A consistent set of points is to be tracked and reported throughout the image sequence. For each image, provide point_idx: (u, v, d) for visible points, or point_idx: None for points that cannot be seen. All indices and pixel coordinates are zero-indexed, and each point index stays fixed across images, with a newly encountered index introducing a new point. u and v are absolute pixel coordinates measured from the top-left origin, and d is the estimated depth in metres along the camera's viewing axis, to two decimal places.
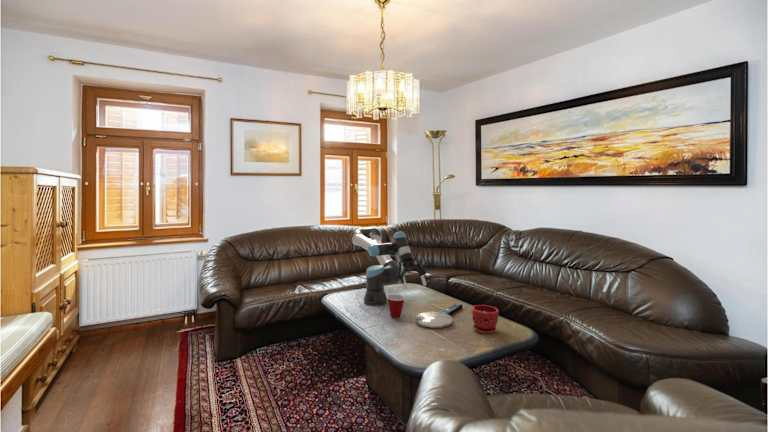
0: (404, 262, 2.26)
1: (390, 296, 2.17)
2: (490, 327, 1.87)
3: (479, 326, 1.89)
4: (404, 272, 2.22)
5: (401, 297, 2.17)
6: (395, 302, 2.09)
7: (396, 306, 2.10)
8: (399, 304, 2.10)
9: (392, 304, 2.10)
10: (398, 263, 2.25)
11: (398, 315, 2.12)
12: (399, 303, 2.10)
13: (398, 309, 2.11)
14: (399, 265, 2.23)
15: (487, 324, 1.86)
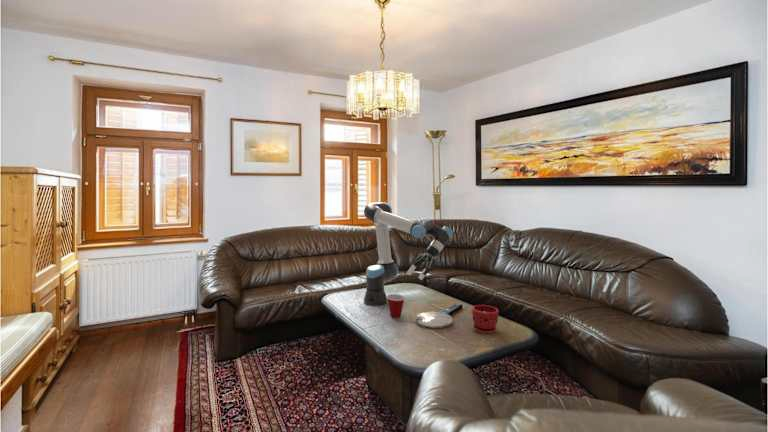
0: None
1: (390, 296, 2.17)
2: (490, 327, 1.87)
3: (479, 326, 1.89)
4: None
5: (401, 297, 2.17)
6: (395, 302, 2.09)
7: (396, 306, 2.10)
8: (399, 304, 2.10)
9: (392, 304, 2.10)
10: (436, 257, 2.16)
11: (398, 315, 2.12)
12: (399, 303, 2.10)
13: (398, 309, 2.11)
14: (435, 260, 2.16)
15: (487, 324, 1.86)
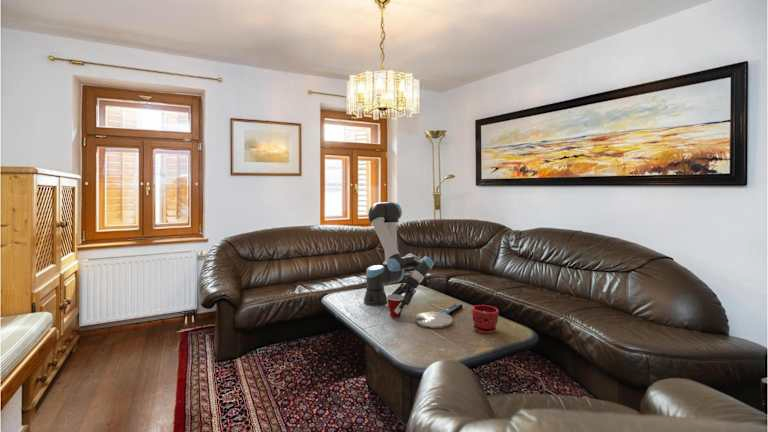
0: None
1: (390, 296, 2.17)
2: (490, 327, 1.87)
3: (479, 326, 1.89)
4: None
5: (401, 297, 2.17)
6: (395, 302, 2.09)
7: (396, 306, 2.10)
8: None
9: (392, 304, 2.10)
10: (414, 290, 2.11)
11: (398, 315, 2.12)
12: (399, 303, 2.10)
13: None
14: (413, 293, 2.11)
15: (487, 324, 1.86)
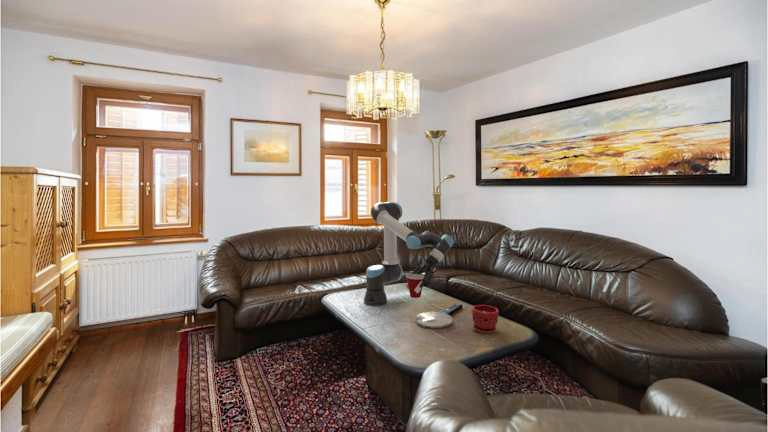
0: None
1: (409, 276, 2.10)
2: (490, 327, 1.87)
3: (479, 326, 1.89)
4: None
5: (420, 276, 2.09)
6: (415, 281, 2.02)
7: (416, 285, 2.02)
8: None
9: (412, 283, 2.02)
10: (435, 268, 2.03)
11: (418, 295, 2.04)
12: (419, 282, 2.02)
13: None
14: (434, 272, 2.03)
15: (487, 324, 1.86)
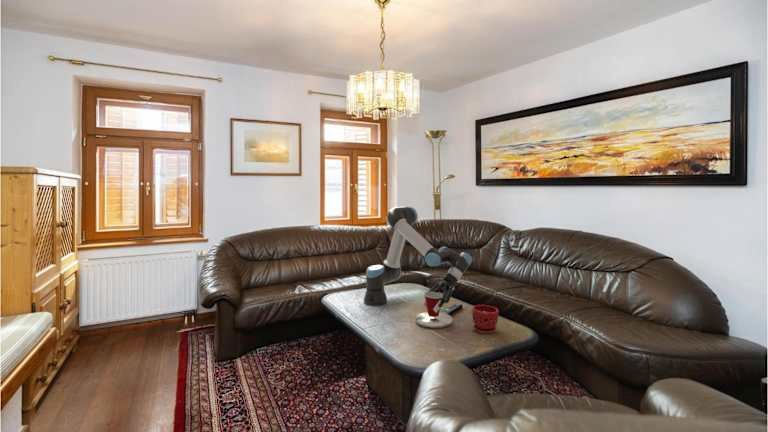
0: None
1: (427, 294, 2.07)
2: (490, 327, 1.87)
3: (479, 326, 1.89)
4: None
5: (438, 295, 2.07)
6: (434, 300, 1.99)
7: (435, 304, 2.00)
8: None
9: (431, 302, 2.00)
10: (454, 287, 2.01)
11: (436, 313, 2.02)
12: (438, 301, 2.00)
13: None
14: None
15: (487, 324, 1.86)
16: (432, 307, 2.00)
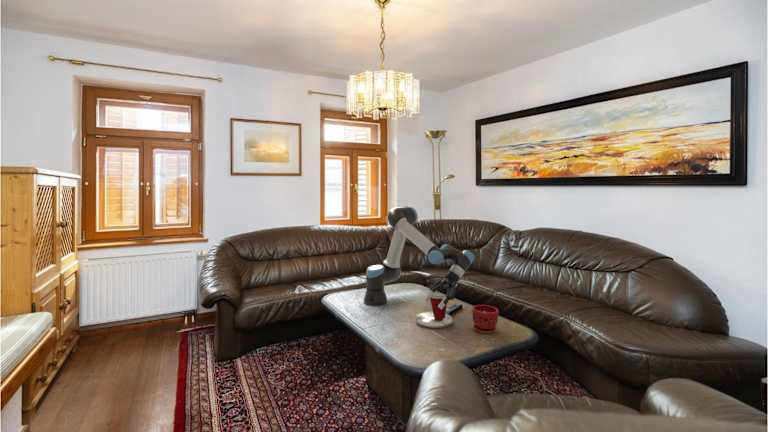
0: None
1: None
2: (490, 327, 1.87)
3: (479, 326, 1.89)
4: None
5: None
6: (438, 300, 1.99)
7: None
8: None
9: (435, 303, 2.00)
10: (457, 284, 2.01)
11: (442, 315, 2.00)
12: None
13: (442, 308, 1.99)
14: (456, 288, 2.01)
15: (487, 324, 1.86)
16: (437, 308, 1.99)
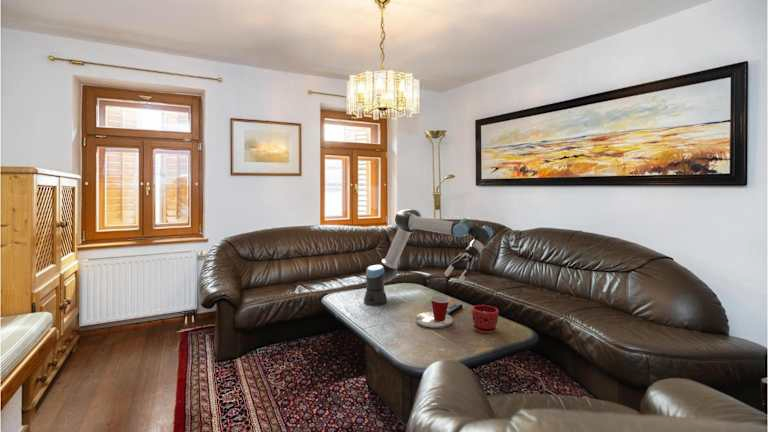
0: None
1: (433, 298, 2.05)
2: (490, 327, 1.87)
3: (479, 326, 1.89)
4: None
5: (445, 299, 2.04)
6: (440, 304, 1.97)
7: (440, 308, 1.97)
8: (444, 306, 1.98)
9: (436, 306, 1.98)
10: (477, 258, 2.06)
11: (442, 318, 1.99)
12: (444, 305, 1.97)
13: (443, 312, 1.98)
14: (476, 261, 2.06)
15: (487, 324, 1.86)
16: (438, 311, 1.98)
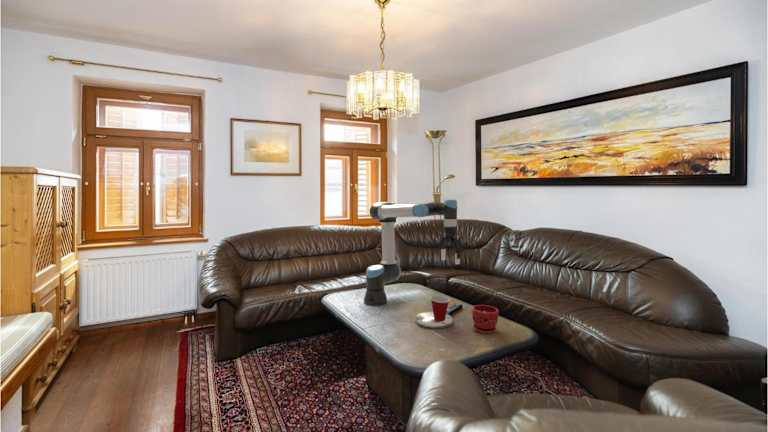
0: None
1: (433, 298, 2.05)
2: (490, 327, 1.87)
3: (479, 326, 1.89)
4: None
5: (445, 299, 2.04)
6: (440, 304, 1.97)
7: (440, 308, 1.97)
8: (444, 306, 1.98)
9: (436, 306, 1.98)
10: (457, 236, 2.10)
11: (442, 318, 1.99)
12: (444, 305, 1.97)
13: (443, 312, 1.98)
14: (459, 239, 2.10)
15: (487, 324, 1.86)
16: (438, 311, 1.98)
